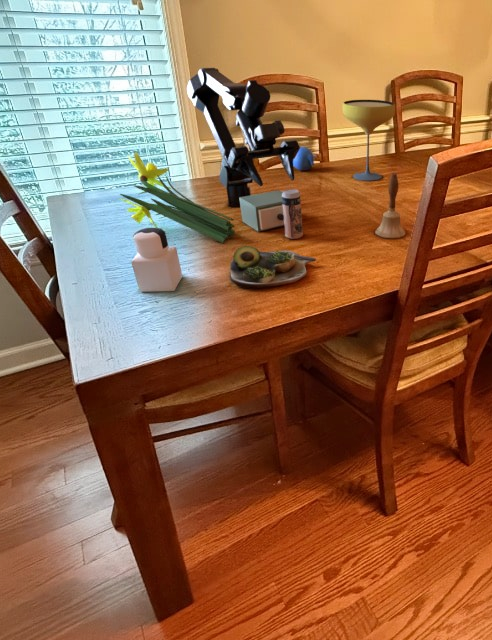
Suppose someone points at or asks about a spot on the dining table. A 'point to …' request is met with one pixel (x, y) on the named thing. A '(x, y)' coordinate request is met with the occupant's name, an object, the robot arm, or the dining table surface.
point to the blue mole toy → (304, 159)
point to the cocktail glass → (368, 123)
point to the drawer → (271, 216)
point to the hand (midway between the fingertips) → (277, 182)
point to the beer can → (292, 213)
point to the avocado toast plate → (266, 267)
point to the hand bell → (391, 214)
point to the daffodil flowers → (176, 205)
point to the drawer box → (258, 207)
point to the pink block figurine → (155, 261)
